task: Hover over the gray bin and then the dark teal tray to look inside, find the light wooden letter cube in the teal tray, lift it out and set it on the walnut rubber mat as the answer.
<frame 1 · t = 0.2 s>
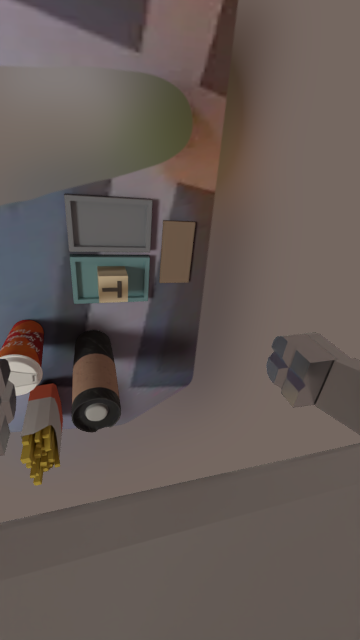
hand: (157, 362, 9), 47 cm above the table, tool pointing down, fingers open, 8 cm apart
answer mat: (176, 252, 57), on the table
paper cup: (28, 331, 57), on the table
letter cube: (111, 278, 56), resting on teal bin
french fries container: (49, 395, 66), on the table
travel mug: (93, 343, 63), on the table
gray bin: (110, 224, 51), on the table
teal bin: (111, 277, 56), on the table
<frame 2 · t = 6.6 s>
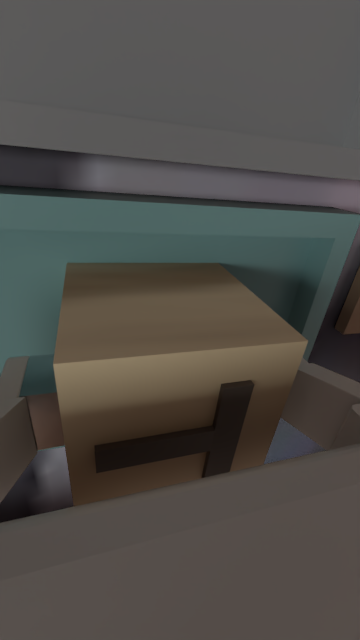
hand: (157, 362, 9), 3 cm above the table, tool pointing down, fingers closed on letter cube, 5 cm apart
letter cube: (145, 328, 11), resting on teal bin, touching gripper
teal bin: (143, 321, 11), on the table
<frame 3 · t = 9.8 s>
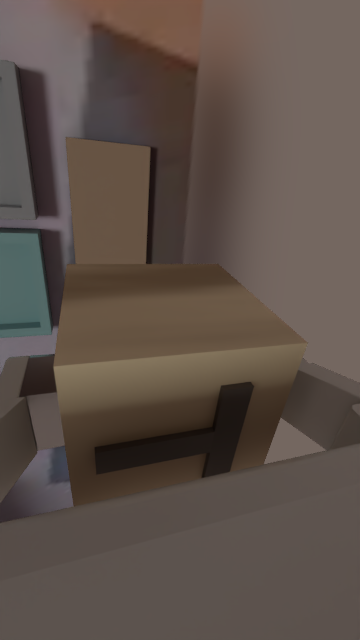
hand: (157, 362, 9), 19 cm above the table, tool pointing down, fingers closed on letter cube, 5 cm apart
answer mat: (110, 225, 25), on the table
letter cube: (145, 329, 11), point 17 cm above the table, touching gripper
when the fingers open (4 cm above the table, at t = 13.4 s): letter cube stays where it is, resting on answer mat.
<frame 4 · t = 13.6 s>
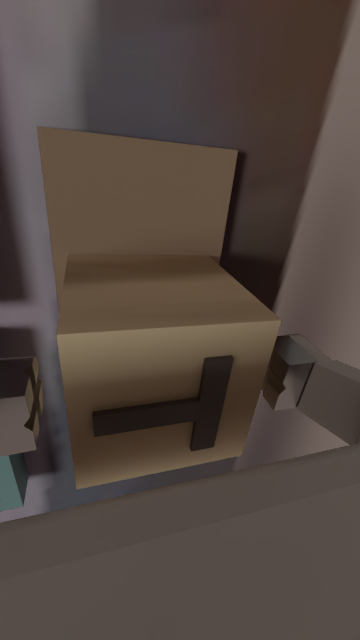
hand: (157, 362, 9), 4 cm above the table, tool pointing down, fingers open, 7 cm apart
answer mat: (138, 309, 12), on the table
letter cube: (140, 316, 12), point 1 cm above the table, touching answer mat
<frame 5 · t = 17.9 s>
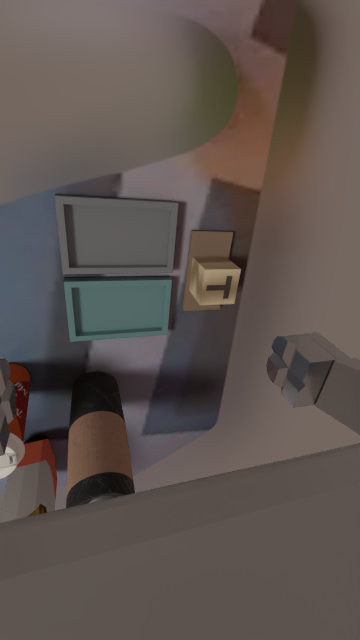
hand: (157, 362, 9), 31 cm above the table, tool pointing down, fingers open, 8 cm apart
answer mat: (205, 272, 43), on the table
paper cup: (9, 377, 43), on the table
letter cube: (206, 273, 43), point 1 cm above the table, touching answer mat
french fries container: (40, 450, 52), on the table
travel mug: (95, 387, 49), on the table
gray bin: (119, 235, 37), on the table
teal bin: (119, 306, 42), on the table
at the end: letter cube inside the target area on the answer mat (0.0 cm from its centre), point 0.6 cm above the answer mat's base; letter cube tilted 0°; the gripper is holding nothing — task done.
